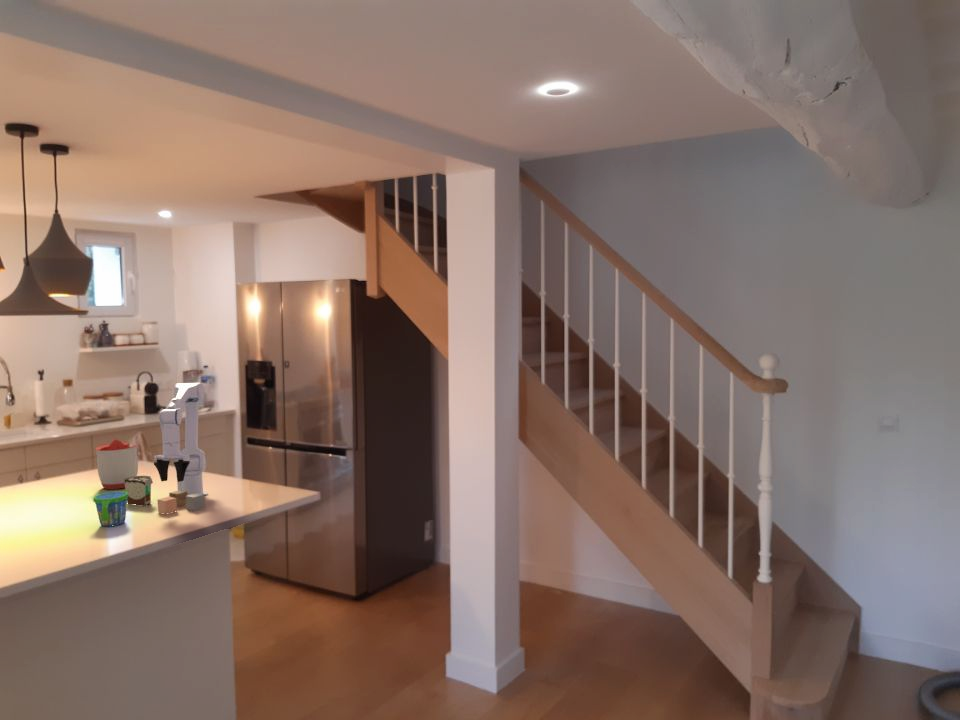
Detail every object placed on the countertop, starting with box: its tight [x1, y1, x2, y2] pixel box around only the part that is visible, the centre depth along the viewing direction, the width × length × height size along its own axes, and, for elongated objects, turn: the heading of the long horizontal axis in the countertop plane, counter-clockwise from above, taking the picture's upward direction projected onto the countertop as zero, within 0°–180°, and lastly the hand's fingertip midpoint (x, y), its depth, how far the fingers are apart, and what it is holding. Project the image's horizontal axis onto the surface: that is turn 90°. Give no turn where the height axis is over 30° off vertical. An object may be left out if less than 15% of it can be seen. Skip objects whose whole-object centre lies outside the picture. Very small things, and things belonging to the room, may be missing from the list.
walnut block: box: [168, 489, 188, 508], centre depth 272 cm, size 4×4×5 cm
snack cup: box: [92, 490, 128, 527], centre depth 250 cm, size 16×10×10 cm
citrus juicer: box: [95, 438, 141, 490], centre depth 305 cm, size 16×17×20 cm
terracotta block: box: [156, 496, 178, 515], centre depth 262 cm, size 4×4×5 cm
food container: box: [123, 475, 154, 507], centre depth 276 cm, size 12×6×10 cm, turn 65°
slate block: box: [185, 493, 206, 512], centre depth 266 cm, size 4×4×5 cm
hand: (172, 481), depth 260 cm, fingers open, 7 cm apart
